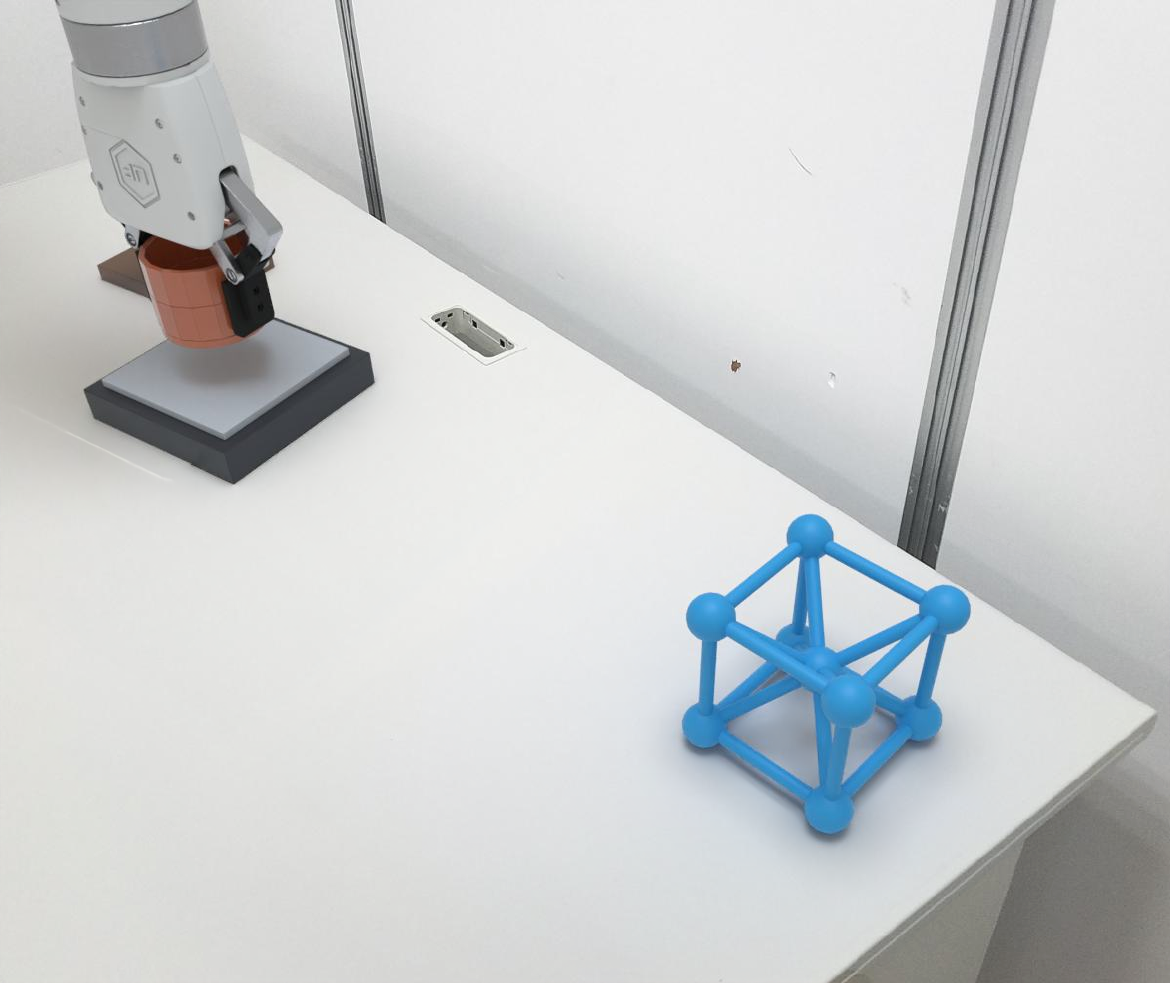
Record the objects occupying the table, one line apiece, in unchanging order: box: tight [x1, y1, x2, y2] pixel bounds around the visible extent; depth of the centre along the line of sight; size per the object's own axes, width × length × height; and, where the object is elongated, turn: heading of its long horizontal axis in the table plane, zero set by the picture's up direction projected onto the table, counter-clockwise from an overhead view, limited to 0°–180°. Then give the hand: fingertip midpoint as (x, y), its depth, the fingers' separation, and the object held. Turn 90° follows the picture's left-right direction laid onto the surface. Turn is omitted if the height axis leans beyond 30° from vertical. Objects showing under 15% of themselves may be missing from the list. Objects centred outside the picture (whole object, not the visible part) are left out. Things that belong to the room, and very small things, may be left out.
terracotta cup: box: [138, 220, 265, 349], centre depth 80 cm, size 7×7×6 cm
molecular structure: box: [681, 513, 972, 834], centre depth 58 cm, size 10×10×10 cm
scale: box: [82, 316, 376, 484], centre depth 85 cm, size 15×14×3 cm
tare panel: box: [96, 246, 275, 299], centre depth 99 cm, size 11×9×3 cm
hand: (212, 309), depth 81 cm, fingers closed on terracotta cup, 7 cm apart
